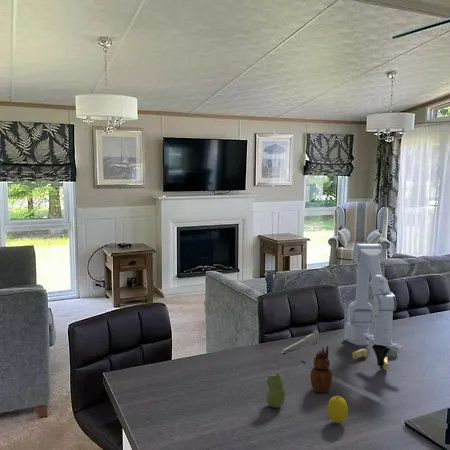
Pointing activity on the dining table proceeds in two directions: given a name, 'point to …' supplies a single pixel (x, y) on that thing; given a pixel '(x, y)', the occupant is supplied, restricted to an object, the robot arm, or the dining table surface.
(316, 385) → the wooden figurine
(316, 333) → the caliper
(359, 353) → the knob
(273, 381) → the pear
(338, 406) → the lemon
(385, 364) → the knob
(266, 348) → the dining table surface
